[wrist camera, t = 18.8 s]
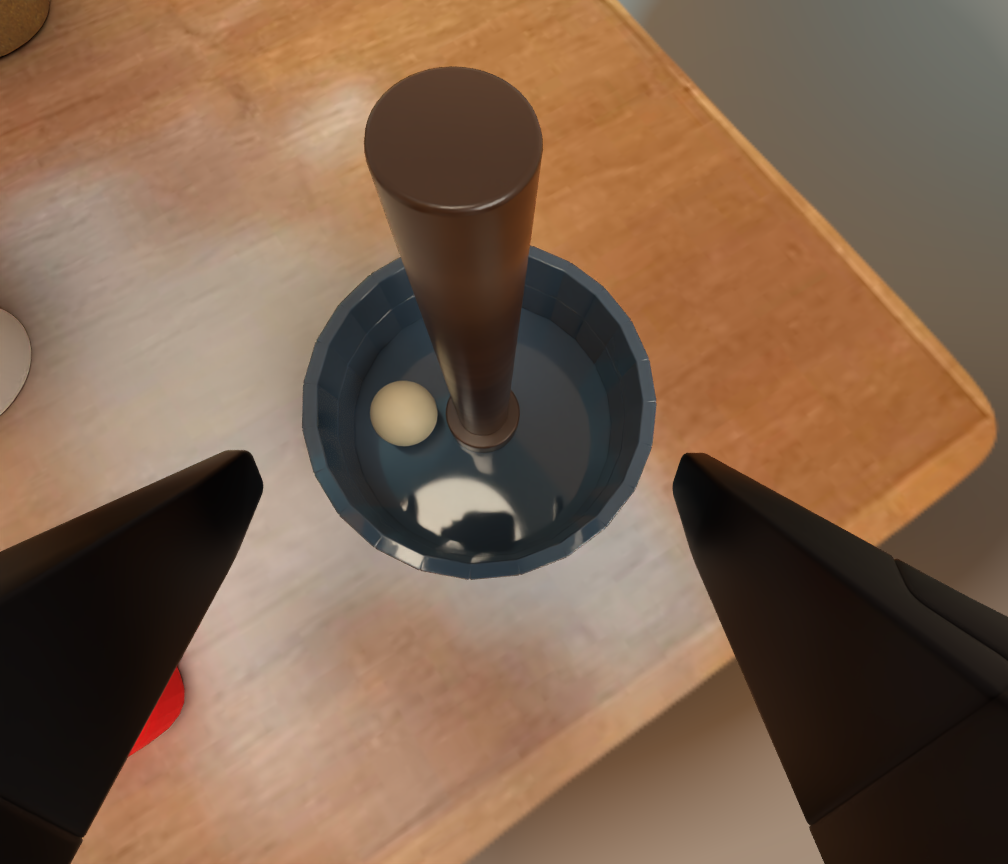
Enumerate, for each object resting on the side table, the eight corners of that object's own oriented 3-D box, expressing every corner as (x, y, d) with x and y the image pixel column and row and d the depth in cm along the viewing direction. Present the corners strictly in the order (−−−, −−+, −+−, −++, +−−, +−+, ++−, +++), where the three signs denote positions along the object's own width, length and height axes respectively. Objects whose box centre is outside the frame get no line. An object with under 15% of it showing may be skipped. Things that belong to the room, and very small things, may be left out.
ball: (449, 384, 16) (430, 394, 14) (439, 443, 17) (419, 461, 15) (391, 371, 17) (361, 377, 14) (383, 429, 17) (353, 445, 15)
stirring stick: (520, 451, 17) (601, 250, 4) (449, 454, 17) (306, 256, 4) (516, 384, 17) (577, 27, 5) (447, 387, 17) (321, 30, 5)
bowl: (629, 326, 19) (670, 269, 15) (598, 585, 16) (636, 611, 12) (385, 283, 19) (353, 213, 15) (317, 534, 17) (254, 540, 12)
